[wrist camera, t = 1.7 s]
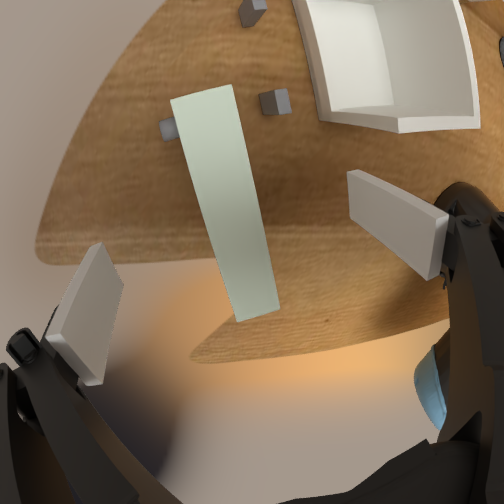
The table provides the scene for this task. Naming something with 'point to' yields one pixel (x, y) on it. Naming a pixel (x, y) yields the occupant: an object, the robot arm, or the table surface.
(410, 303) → the table surface
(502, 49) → the moka pot
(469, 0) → the sprinkles bottle
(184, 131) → the door
